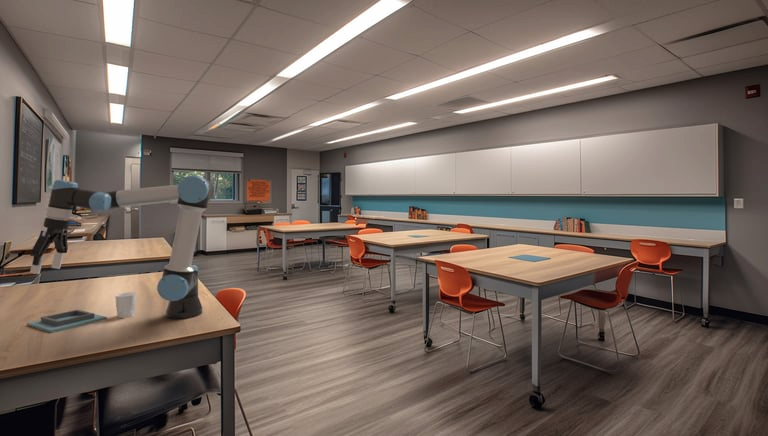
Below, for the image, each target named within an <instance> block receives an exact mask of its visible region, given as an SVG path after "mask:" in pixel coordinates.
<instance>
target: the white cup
mask: <svg viewBox="0 0 768 436" xmlns="http://www.w3.org/2000/svg"><path fill="white" fill-rule="evenodd" d="M136 305H137V293H136V292H133V291H132V292H122V293H117V294H115V307H116V317H117V318H118V319H124V318H125V319H126V318H130V317H134V316H135V315H136V308H137V307H136Z"/></svg>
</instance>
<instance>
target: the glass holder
mask: <svg viewBox="0 0 768 436" xmlns="http://www.w3.org/2000/svg"><path fill="white" fill-rule="evenodd" d="M106 320H108V317H107V316H104V315H100V314H96V313H94V312H89V311H87V310H82V309H81V310H80V309H75V310H74V309H73V310H70V311H64V312H59V313H55V314H49V315H46V316H41V317H40V320H34V321H31V322H27V323H26V326H28V325H29V326H28V327H31V326H32V327H31V328H34V327H35V329H37V328H38V329H37V330H41V331H45V332H48V333H51V334H52V333H56V332H61V331H64V330H68V329H73V328H76V327H77V328H78V327H81V326H84V325H89V324H93V323H97V322H101V321H106Z"/></svg>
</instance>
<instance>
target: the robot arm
mask: <svg viewBox="0 0 768 436" xmlns="http://www.w3.org/2000/svg"><path fill="white" fill-rule="evenodd" d="M214 194H215V188H214V185H213V183H212V182H211V181H210V180H209V179H208V178H206V177H203V176H200V175H196V174H195V175H194V174H193V175H187V176H185V177H183V178H182V179H181V180H180V181H179V182H178V184H172V185H171V184H170V185H161V186H153V187H143V188H142V187H141V188H133V189H123V190H122V189H121V190H113V191H97V190H96V191H95V190H91V189H89V190H88V189H84V188H80V187H79V184H78V183H77V182H75V181H74V182H72V181H67V180H63V179H55V180H54V182H53V185H52V187H51V190H50V197H49V201H48V206H47V208H46V214H45V218H44V221H43V227H44V228H47V229H46V230H41V231H40V233H39V236H38V238H37V240H36V242H35V243H34V245H33V247H32V249H31V251H30V253H29V255H30V256H31V257H33V259H32V262H31V267H30V270H29V273H30V274H34V275H40V273H41V270H42V265H43V261H44V256H43V255H44V254H45V253H46V252H47V250H48V248H49V247H50V246H51V244H54V246H55V250H56V252H54V256H53V259H52V263H51V269H57V270H59V269H61V266H62V262H63V257H64V254H67V253H68V247H69V245H68V232H69V230H68V229H69V225H70V220H71V219H72V214H73V208H74V207H77V208H82V209H87V210H92V211H98V212H99V211H100V212H106V211H107V210H113V209H117V208H128V207H137V206H144V205H155V204H163V203H172V202H176V203H177V204H176V205H177V206H178V207H179V213H178V217H177V219H178V220H177V223H176V228H175V233H174V239H173V243H172V248H171V253H170V258H169V263H168V264H166V265H164V267H163V271H162V272H163V273H162V275H161V278H159V281H158V283H157V286H156V290H157V293H158V295H159V296H160V297H161V298H162V299H163V300H165V301H168V304H167V308H166V310H165V317H166V318H167V319H171V320H172V319H174V320H175V319H176V320H177V319H180V320H181V319H187V318H188V317H189V318H193V317H192V316H194V317H196V315H197V316H199V315H198V314H200V313H201V314H202V313H203V306H202V303H201V301H200V297H199V268H198V266H197V265H195V264H193V259H194V254H195V249H196V244H197V240H198V234H199V230H200V226H201V219H202V215H203V212H204V211H207V209H208V205H209V201H210V200H211V199H212V198H213V197H214ZM201 314H200V315H201Z"/></svg>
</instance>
